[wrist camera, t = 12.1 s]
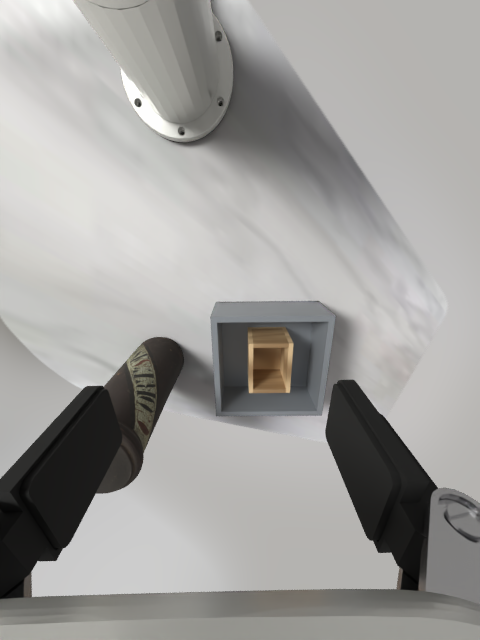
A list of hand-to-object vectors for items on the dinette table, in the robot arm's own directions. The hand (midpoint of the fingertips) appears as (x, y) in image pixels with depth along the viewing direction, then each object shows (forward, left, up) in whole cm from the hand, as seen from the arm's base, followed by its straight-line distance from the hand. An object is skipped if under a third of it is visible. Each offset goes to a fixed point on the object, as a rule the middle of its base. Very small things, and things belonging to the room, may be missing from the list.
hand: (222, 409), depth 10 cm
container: (+13, -13, -27) cm, 33 cm away
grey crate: (+11, +5, -27) cm, 29 cm away
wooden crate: (+11, +5, -26) cm, 29 cm away
